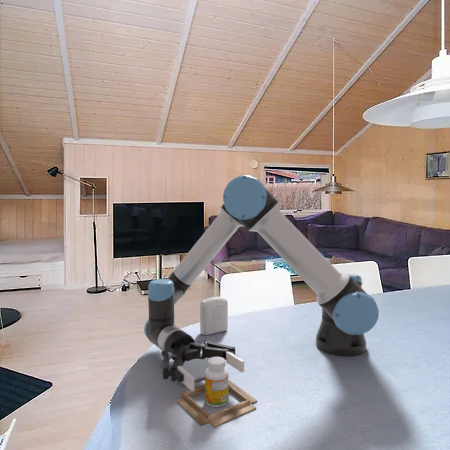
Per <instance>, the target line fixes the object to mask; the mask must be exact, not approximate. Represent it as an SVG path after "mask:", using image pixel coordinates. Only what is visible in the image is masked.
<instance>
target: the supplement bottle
mask: <svg viewBox="0 0 450 450" xmlns="http://www.w3.org/2000/svg"><path fill="white" fill-rule="evenodd" d="M228 381H229V370H228V369H227V367H226V360H225V359H224V358H222V357H212V358H209V360H208V368H207V369H206V371H205V379H204V384H205V392H204V401H205V404H206V405H207V406H209V407H211V408H221V407H224V406H226V405H227V404H228V402H229V390H228Z"/></svg>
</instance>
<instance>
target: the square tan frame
mask: <svg viewBox="0 0 450 450" xmlns="http://www.w3.org/2000/svg"><path fill="white" fill-rule="evenodd" d="M229 391H230V392H231V393H232V394H233V395H235V396H236V397H237V398H239V400H241V401H242V402H238V403H237V404H234V405H231V406H229V407H227V408H225V409H223V410H220V411H217V412H214V413H213V414H209V413H208V412H207V411H206V410H205V409H204V408H203V407H202V406H200V404H199V403H197V401H195V400H194V399H193V398H192V397H194V396H197V395H200V394H202V393H205V383H203V384H202V385H198V386H196V387H195V386H194V390H192V391H191V390H190V389H187V390H185V391H181V392H180V396H181V397H179V398H177V399H176V402H177V403H178V404H179V405H180V406H181V407H182V408H183V409H184V410H185V411H186V412H187V414H189V415H190V416H191V417H192V418H193V419H194V420H195V421H196V422H197V424H198V425H200V426H204V425H206V424H208V423H209V424H210V425H211V426H213V427H214V428H216V427H219V426H220V425H223V424H225V423H227V422H229V421H231V420H234V419H236V418H238V417H240V416H243V415H246V414H247V413H250V412H253V411H254V410H256V409H257V407H256V406H255V405H253V404H254V403H258V400H257V398H255V397H254V396H253V395H250V394H249V393H247V392H246V391H245V390H244V389H242V388H241V387H239V386H238V385H237V384H235V383H234V382H233V381H231V380H230V379H228V392H229Z"/></svg>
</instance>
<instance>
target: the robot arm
mask: <svg viewBox="0 0 450 450" xmlns="http://www.w3.org/2000/svg"><path fill="white" fill-rule="evenodd" d="M222 193H223V194H222V202H223V204H222V205H221V206H220V213H219V214H218V215H217V217H216V218H215V219H213V221H212V223H211V224H210V225H209V226H208V227H207V229H206V230H205V231H204V232H203V234H202V235H201V237H200V238H198V240H197V241H196V242H195V244H194V245H193V246H192V247H191V249H190V250H189V251H188V252H187V254H185V256H184V257H183V259H181V261H180V263H179V264H177V266H176V267H175V269H173V271H172V272H171V273H170V275H168V277H167V278H159V279H154V280H151V281H150V282H149V283H148V285H147V286H148V288H147V289H148V290H147V297H148V298H147V301H148V319H147V321H146V322H145V324H144V327H143V332H144V335H145V337H146V338H147V340H148V341H150V343H151V344H154V345H155V346H156V347H157V348H158V349H160V350H161V362H162V363H161V364H163V368H162V379H163V380H168V379H169V378H170V380H171V382H177V381H178V382H182V383H183V384H184V385H185V387H186V388H188V390H191V391H192V390H194V388H195V382H194V377H193V376H192V375H191V374H189V373H188V372H187V371H186V370H185V369H183V368H182V367H181V366H183V364H184V362H185V361H190V360H192V359H205V358H209V359H210V358H212V357H222V358H224V359H225V364H226V363H227V364H228V365H230V366H231V367H232V368H234V369H235V370H237V371H238V372H240V373H245V360H244V359H243V358H240V357H239V356H238V355H237V354H236V347H235V346H231V345H227V344H222V343H218V342H213V341H210V340H209V339H204V340H203V343H201V344H200V342H199V343H198V342H196V341H195V340H194V338H193V337H192V335H190V333H187V332H186V331H184V330H183V329H181V328H179V327H178V326H176V325H175V305H176V303H177V302H178V301H179V300H180V299H181V298H182V297H183V296H184V295H185V294H186V292H187V291H188V289H190V287H191V286H192V285H193V283H194V282H195V281H196V280H197V278H198V277H199V276H200V275H201V274H202V272H203V271H204V270H205V268H207V267H208V265H209V264H210V263H211V262H212V260H213V259H215V257H216V256H217V254H218V253H219V252H220V251H221V249H222V248H223V247H224V246H225V245H226V243H227V242H228V241H229V240H230V239H231V237H232V236H233V235H234V234H235V233H236V231H237V230H238V229H239V228H241V227H243V228H244V227H245V228H246V230H247V231H248V232H255V233H258V234H259V235H260V237H262V239H264V241H265V242H266V243H267V244H268V245H269V246H270V247H271V248H272V249H273V250H274V251H275V252H276V254H278V255H279V256H280V258H282V260H284V261H285V263H287V265H289V267H290V268H291V269H292V270H294V272H295V273H296V274H297V275H298V277H300V278H301V279H302V281H304V283H306V285H308V287H309V288H310V289H311V290H312V291H313V292H314V293H315V294H316V298H315V299H316V303H317V304H318V305H319V306H320V307H321V321H320V325H319V326H318V330H317V332H316V336H315V337H316V338H315V345H316V346H317V348H319V349H320V350H322V351H324V352H326V353H329V354H332V355H337V356H344V357H352V356H359V355H362V354H365V352H366V351H367V340H366V338H365V337H366V336H365V334H367V333H368V332H369V331H371V330H372V329H373V328H375V325H376V324H377V322H378V320H379V316H380V315H379V313H380V312H379V311H380V310H379V307H378V305H377V302H376V300H375V299H374V297H373V296H371V295H370V294H368V293H367V291H366V290H364V288H363V287H362V286H363V282H362V280H363V279H362V277H361V276H360V275H359V274H351V273H346V272H345V273H344V272H343V273H342V272H339V271H338V270H337V269H336V267H334V266H333V264H331V262H329V260H328V259H327V258H326V257H325V256H324V255H323V254H322V253H321V252H320V251H319V250H318V249H317V248H316V247H315V246H314V245H313V244H312V243H311V242H310V240H308V238H307V237H305V235H304V234H303V233H302V232H301V231H300V229H298V228H297V227H296V226H295V225H294V224H293V223H292V222H291V220H289V219H288V217H286V216H285V214H283V212H282V211H281V210H280V202H279V200H277V198H276V197H275V196H274V195H273V194H272V193H271V192H270V191H269V190H268V188H266V187H265V185H264V184H263V183H262V181H261V180H260V179H259V178H257V177H255V176H253V175H249V174H242V175H239V176H236V177H234V178H232V179H231V180H230V181H229V182H228V183H227V184H226V186H225V187H224V190H223V192H222ZM200 353H201V354H202V355H200ZM171 359H172V361H174V362H173V364H172V366H171V368H169V362H171ZM176 380H177V381H176ZM178 382H177V383H178Z"/></svg>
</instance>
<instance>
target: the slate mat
mask: <svg viewBox="0 0 450 450" xmlns="http://www.w3.org/2000/svg"><path fill="white" fill-rule="evenodd" d="M200 355H202V352H201V353H200ZM209 359H210V358H205V359H192V360H190V361H185V362H184V364H183V366H181V367H182V368H183V369H185V370H186V371H187V372H188V373H189V374H191V375H192V376H193V377H194V383H196V382H199V381H203V380H205V371H206V369H207V368H208V360H209ZM173 362H174V360H172V361H171V360H170V362H169V368H171V366H172V364H173ZM160 367H161V369H163V363H161V364H160ZM175 382H177V383H178V385H180V386H181V387H184V386H185V387H186V385H184V384H183V383H182V382H178V381H177V380H176V381H175Z"/></svg>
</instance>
